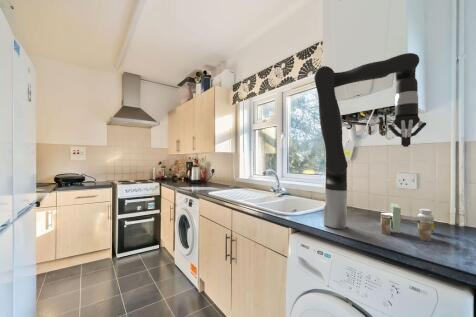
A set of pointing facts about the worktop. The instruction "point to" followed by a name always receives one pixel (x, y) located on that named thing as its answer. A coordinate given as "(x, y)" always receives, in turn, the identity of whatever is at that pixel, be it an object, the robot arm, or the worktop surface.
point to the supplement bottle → (427, 214)
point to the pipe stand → (423, 228)
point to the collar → (395, 217)
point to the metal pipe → (407, 218)
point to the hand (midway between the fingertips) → (405, 146)
